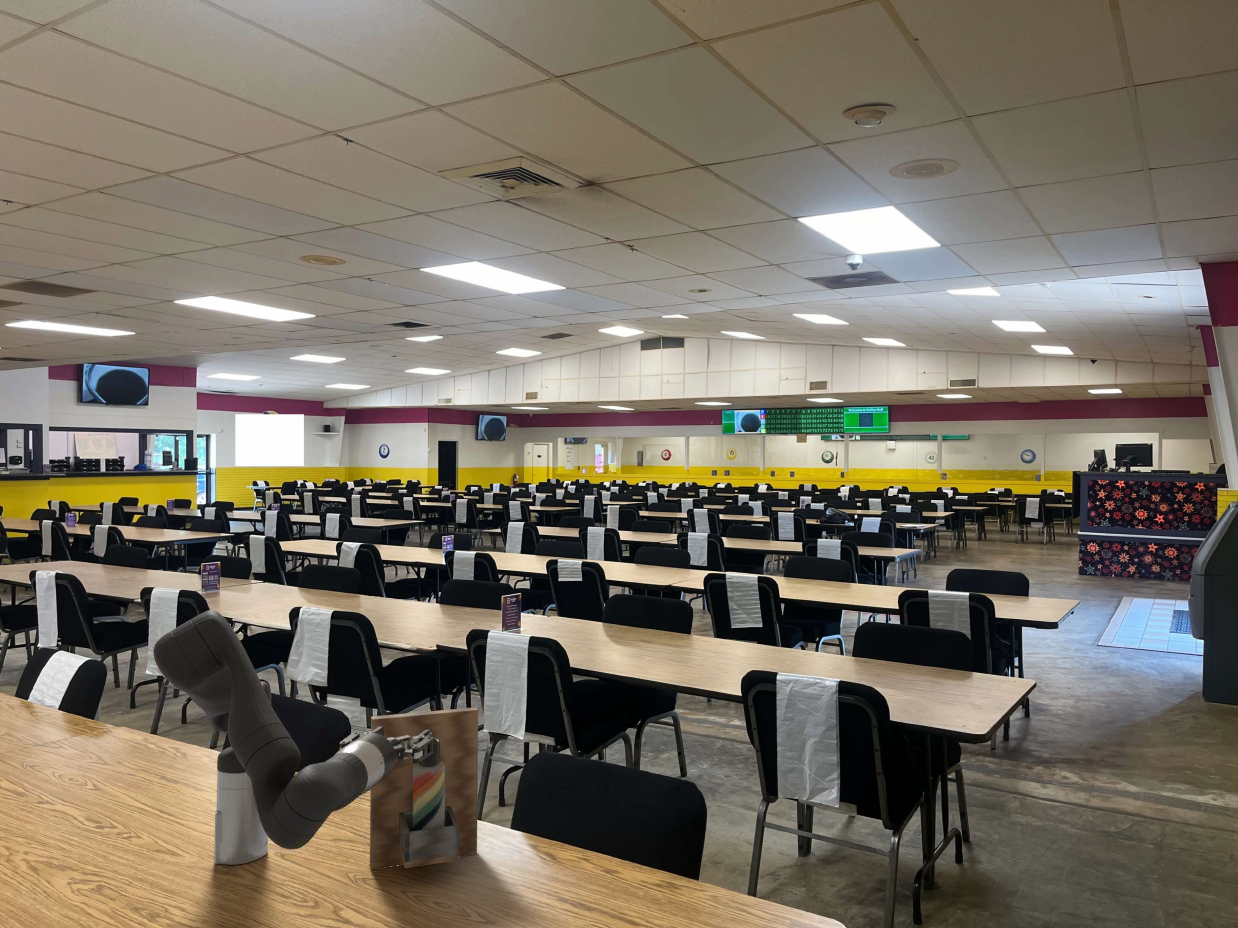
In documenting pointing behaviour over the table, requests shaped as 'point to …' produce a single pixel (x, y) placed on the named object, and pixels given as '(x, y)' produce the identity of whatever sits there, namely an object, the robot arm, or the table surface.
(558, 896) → the table surface
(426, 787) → the lotion bottle
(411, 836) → the bracket
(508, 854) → the table surface
